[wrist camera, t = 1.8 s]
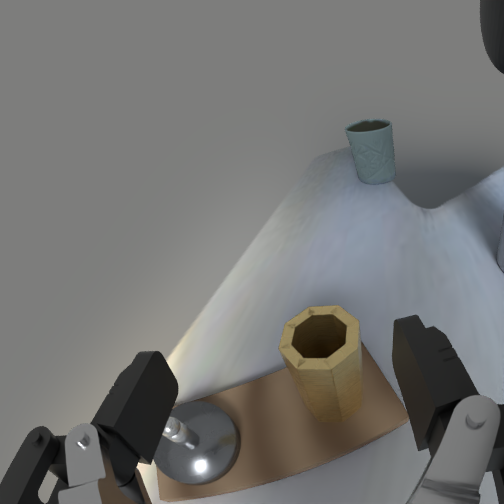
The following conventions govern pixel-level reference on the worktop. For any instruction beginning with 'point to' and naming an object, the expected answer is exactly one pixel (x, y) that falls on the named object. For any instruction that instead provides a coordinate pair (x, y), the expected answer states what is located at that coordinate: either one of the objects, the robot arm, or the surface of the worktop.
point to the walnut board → (290, 431)
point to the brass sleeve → (325, 361)
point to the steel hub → (198, 444)
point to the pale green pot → (372, 150)
